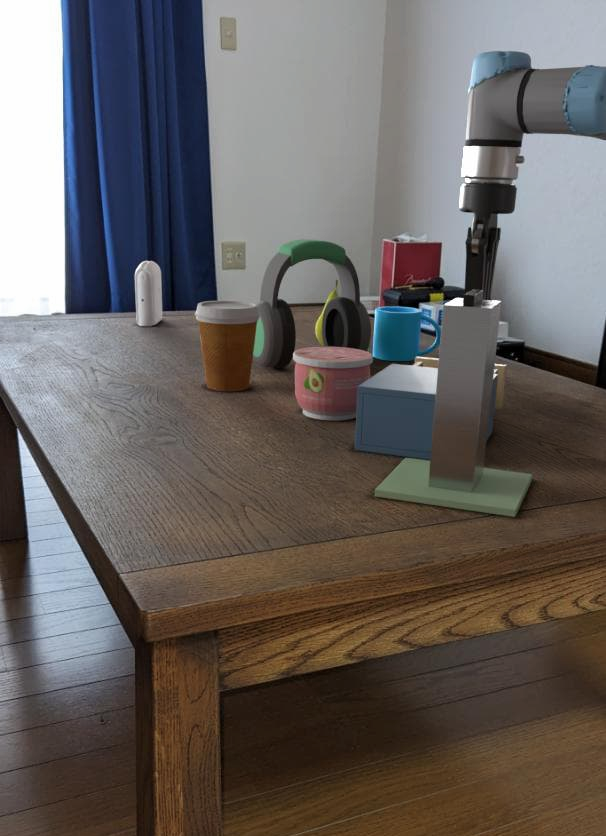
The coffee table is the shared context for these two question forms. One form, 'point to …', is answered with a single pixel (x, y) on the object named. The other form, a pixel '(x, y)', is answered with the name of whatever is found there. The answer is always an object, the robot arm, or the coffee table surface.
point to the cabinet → (401, 411)
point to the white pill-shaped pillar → (148, 294)
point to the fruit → (319, 323)
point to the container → (330, 380)
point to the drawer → (498, 370)
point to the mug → (400, 333)
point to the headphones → (341, 315)
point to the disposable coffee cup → (227, 342)
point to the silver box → (463, 391)
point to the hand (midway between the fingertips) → (471, 356)
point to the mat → (489, 496)
